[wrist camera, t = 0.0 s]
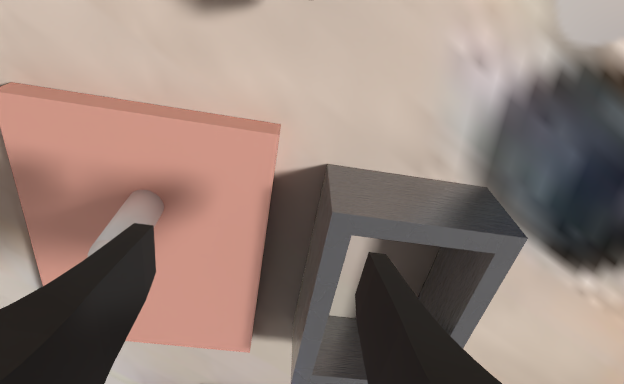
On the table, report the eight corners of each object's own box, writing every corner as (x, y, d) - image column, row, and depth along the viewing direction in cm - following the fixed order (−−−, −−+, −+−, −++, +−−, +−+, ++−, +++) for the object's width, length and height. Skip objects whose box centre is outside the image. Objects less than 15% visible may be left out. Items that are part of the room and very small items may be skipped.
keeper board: (252, 335, 30) (238, 428, 24) (67, 317, 29) (4, 411, 23) (280, 124, 21) (270, 189, 15) (11, 82, 20) (-120, 135, 14)
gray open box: (416, 335, 30) (434, 396, 26) (292, 322, 29) (290, 384, 25) (486, 187, 23) (527, 238, 19) (327, 164, 22) (332, 211, 18)
